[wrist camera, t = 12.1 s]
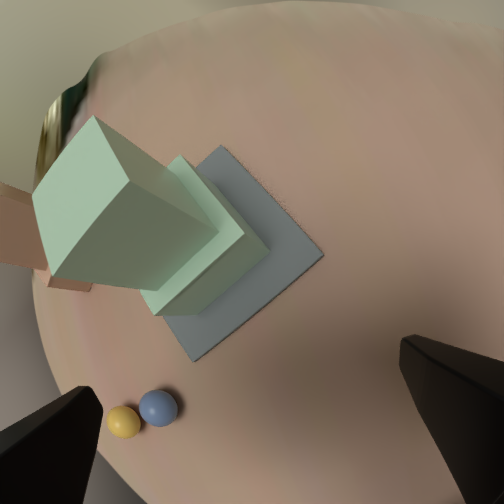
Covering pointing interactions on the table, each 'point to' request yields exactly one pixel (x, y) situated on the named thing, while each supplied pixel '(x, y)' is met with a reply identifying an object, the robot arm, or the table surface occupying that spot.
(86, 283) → the pink stepped block
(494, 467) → the robot arm
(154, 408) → the blue ball
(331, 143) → the table surface
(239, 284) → the mat
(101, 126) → the stepped green tower
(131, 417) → the marble amber
